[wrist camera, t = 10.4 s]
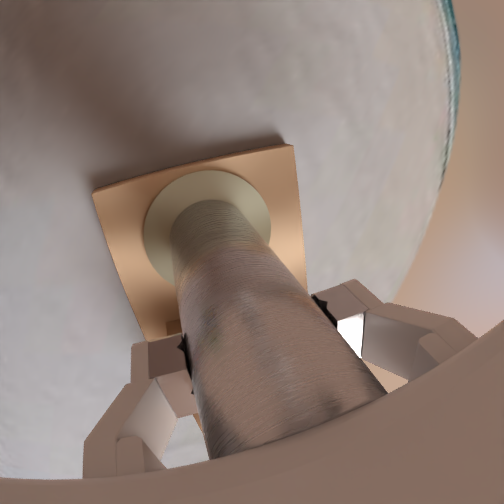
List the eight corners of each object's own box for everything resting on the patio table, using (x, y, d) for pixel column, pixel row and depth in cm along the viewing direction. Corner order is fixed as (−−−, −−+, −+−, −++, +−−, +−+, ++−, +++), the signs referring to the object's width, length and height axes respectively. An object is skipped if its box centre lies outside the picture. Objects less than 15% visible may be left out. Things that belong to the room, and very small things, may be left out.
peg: (160, 211, 14) (189, 452, 4) (242, 190, 15) (418, 365, 5) (181, 283, 16) (238, 515, 6) (254, 263, 17) (383, 459, 7)
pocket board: (95, 189, 14) (70, 221, 10) (285, 143, 16) (333, 157, 12) (179, 400, 22) (190, 455, 17) (306, 361, 23) (335, 408, 19)
